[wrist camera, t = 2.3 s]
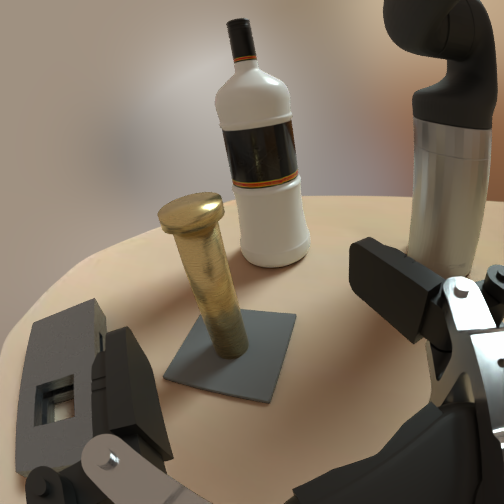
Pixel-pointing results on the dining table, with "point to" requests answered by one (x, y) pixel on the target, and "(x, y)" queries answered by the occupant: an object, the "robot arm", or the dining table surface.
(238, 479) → the dining table surface
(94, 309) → the slotted grey base plate
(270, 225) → the vodka
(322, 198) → the dining table surface
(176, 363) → the rubber mat
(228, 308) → the brass pin
